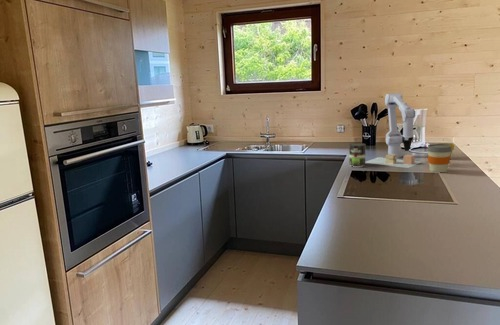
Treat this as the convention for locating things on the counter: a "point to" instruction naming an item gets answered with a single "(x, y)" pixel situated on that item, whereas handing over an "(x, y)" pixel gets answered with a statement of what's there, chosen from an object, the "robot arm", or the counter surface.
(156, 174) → the counter surface
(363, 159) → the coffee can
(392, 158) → the maple block
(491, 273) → the counter surface
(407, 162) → the terracotta block
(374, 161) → the pale blue flat sheet
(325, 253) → the counter surface
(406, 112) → the robot arm
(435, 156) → the reusable coffee cup
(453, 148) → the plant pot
